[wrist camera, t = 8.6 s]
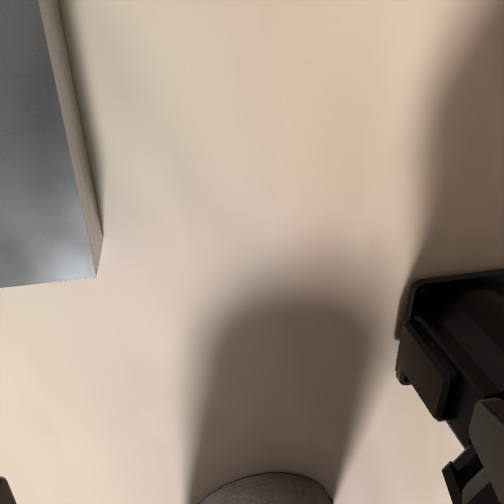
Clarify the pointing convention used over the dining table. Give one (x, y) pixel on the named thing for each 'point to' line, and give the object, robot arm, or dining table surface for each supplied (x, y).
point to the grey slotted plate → (42, 154)
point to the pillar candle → (270, 491)
